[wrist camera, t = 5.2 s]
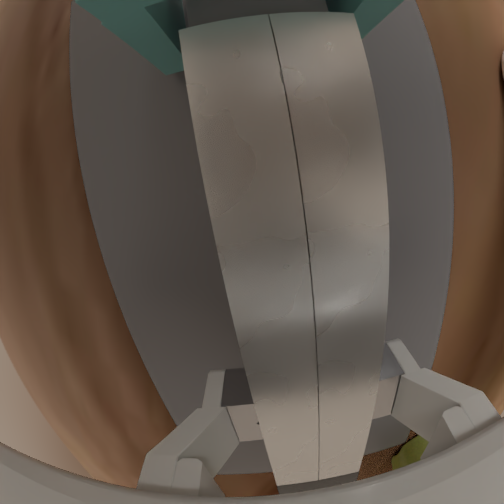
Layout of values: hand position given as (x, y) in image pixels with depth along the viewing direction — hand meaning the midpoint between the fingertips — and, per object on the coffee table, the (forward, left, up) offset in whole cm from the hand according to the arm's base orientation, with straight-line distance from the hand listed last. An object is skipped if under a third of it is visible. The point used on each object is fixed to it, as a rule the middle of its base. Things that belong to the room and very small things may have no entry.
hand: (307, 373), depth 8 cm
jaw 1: (-1, -1, -2) cm, 2 cm away
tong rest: (-1, 0, -4) cm, 4 cm away
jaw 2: (-1, +1, -2) cm, 2 cm away
